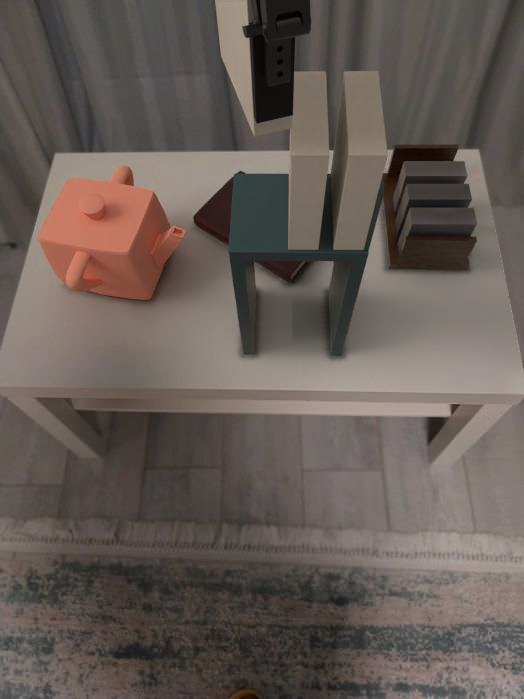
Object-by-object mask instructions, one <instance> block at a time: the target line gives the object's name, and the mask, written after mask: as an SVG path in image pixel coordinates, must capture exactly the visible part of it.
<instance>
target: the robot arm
mask: <svg viewBox="0 0 524 699" xmlns="http://www.w3.org/2000/svg"><path fill="white" fill-rule="evenodd" d="M251 4H252V10H253V17H254V19H253V22H252V23H249V25H246V26H242V28H243V33H244V36H245V38H250V55H251V73H252V92H253V110H254V118H255V121H256V123H262V122H266V121H270V120H275V119H279V118H283V117H288V116H292V115H293V97H294V72H295V61H296V60H295V58H296V55H295V53H296V38H297V37H301V36H305V35H309V34H310V33H311V30H312V18H311V16H312V15H311V0H251ZM214 9H216V5H215V4H214ZM215 15H216V17H215V18H217V14H216V13H215ZM216 26H217V28H218V23H217V22H216Z"/></svg>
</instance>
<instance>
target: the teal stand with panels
mask: <svg viewBox="0 0 524 699" xmlns="http://www.w3.org/2000/svg"><path fill="white" fill-rule="evenodd" d="M327 82H328V81H327V71H326V70H325V71H324V70H319V71H317V70H316V71H314V70H313V71H309V70H308V71H306V70H305V71H294V97H293V117H292V128H290V129H289V153H288V154H289V155H288V173H246V174H236V173H233V176H234V181H233V195H232V209H231V222H230V236H229V245H228V249H227V250H228V251H227V252H228V258H229V265H230V272H231V279H232V286H233V292H234V299H235V307H236V313H237V320H238V326H239V333H240V339H241V347H242V353H243V355H254V354H255V336H256V334H255V333H256V314H257V312H256V311H257V282H256V268H255V262H256V261H309V262H333V264H332V271H331V276H330V282H329V288H328V313H329V315H328V316H329V343H330V347H329V348H330V356H342V355H343V351H344V347H345V343H346V339H347V336H348V332H349V328H350V325H351V322H352V317H353V314H354V311H355V306H356V302H357V299H358V295H359V291H360V289H361V288H360V287H361V284H362V282H363V277H364V273H365V269H366V264H367V261H368V258H369V254H370V248H371V243H372V239H373V236H374V233H375V229H376V226H377V221H378V217H379V214H380V210H381V206H382V204H383V203H382V199H383V195H384V185H383V173H385V167H386V163H387V159H388V155H389V154H388V146H387V144H388V143H387V137H386V128H385V117H384V109H383V100H382V92H381V84H380V73H379V70H344V71H343V72H342V81H341V87H340V88H341V89H340V97H339V103H338V104H339V105H338V112H337V121H336V129H335V136H334V145H333V152H332V159H331V166H330V167H331V169H330V173H328V171H329V164H330V163H329V162H330V132H329V131H330V130H329V111H328V110H329V109H328V85H327Z"/></svg>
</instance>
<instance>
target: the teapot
mask: <svg viewBox="0 0 524 699" xmlns="http://www.w3.org/2000/svg"><path fill="white" fill-rule="evenodd" d="M134 178H135V177H134V173H133V171H132V169H131V167H130V166H129V165H120V166H118V167H117V168H116V169H115V170H114V172H113V174H112V176H111V177H110V179H109V181H105V180H97V179H88V178H77V177H76V178H75V177H71V178H67V179H66V181H65V183H63V186H62V188H61V189H60V191H59V193H58V195H57V196H56V199H55V200H54V202H53V204H52V206H51V208H50V210H49V212H48V214H47V215H46V217H45V219H44V222H43V224H42V225H41V228H40V230H39V232H38V234H37V237H36V239H37V241H38V243H39V245H40V248H41V250H42V252H43V255H44V256H45V258H46V260H47V262H48V264H49V265H50V268H51V269H52V271H53V272H54V274H55V275H56V277H57V278H58V279H59V280H60V281H61V282H63V283H64V284H65V285H66V286H67V288H68V289H70V290H71V291H74V292H78V293H82V292H83V293H84V292H90V293H94V294H99V295H104V296H108V297H115V298H122V299H131V300H139V301H148V300H151V298H152V297H153V295H154V292H155V291H156V288H157V286H158V283H159V280H160V278H161V275H162V273H163V270H164V267H165V266H166V262H167V260H168V259H169V258H170V257H171V255H173V253H174V252H175V250H176V249H177V248H178V246H180V244H181V242H183V240H184V239H185V235H186V232H187V229H185V228H182V227H179V226H176V225H172V226H171V224H170V221H169V218H168V217H167V214H166V212H165V210H164V208H163V206H162V204H161V202H160V200H159V198H158V196H157V195H156V193H155V191H153V190H151V189H147V188H143V187H138V186H135V179H134Z"/></svg>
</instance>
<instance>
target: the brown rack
mask: <svg viewBox="0 0 524 699" xmlns="http://www.w3.org/2000/svg"><path fill="white" fill-rule="evenodd" d="M458 151H459V144H453V143H452V144H450V143H449V144H394V145H393V149H392V152H391V156H390V160H389V164H388V168H387V171H386V172H383V185H384V195H383V199H382V203H381V204H382V211H383V222H384V232H385V242H386V251H387V260H388V261H387V262H388V269H389V270H468V269H469V268H470V260H469V256H470V254H471V253H472V251H473V249H474V248H475V246H476V244H477V242H478V237H477V236H472V235H473V233H474V232H475V229H476V227H477V225H478V222H477V217H476V216H477V215H476V212H475V208H474V207H470V204H471V202H472V201H473V197H472V191H471V187H470V183H466V180H467V178H468V171H467V168H466V162H465V160H455V158H456V156H457V153H458Z"/></svg>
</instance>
